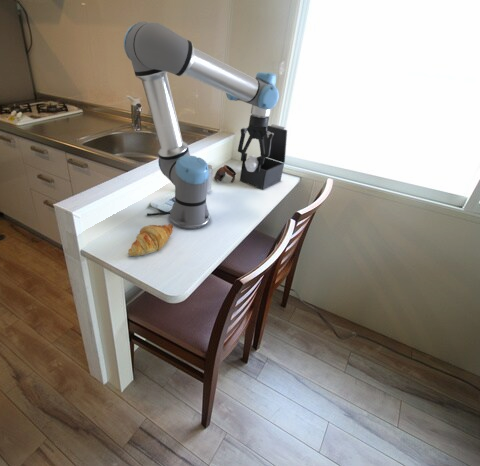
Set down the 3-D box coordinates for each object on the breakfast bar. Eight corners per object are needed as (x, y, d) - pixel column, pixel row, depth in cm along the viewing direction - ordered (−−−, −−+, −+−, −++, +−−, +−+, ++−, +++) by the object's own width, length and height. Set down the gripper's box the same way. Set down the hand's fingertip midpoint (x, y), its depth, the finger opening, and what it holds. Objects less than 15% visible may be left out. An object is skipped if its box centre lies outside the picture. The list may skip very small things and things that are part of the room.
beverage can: (197, 187, 149) (199, 163, 142) (211, 189, 148) (213, 164, 142) (195, 193, 144) (197, 168, 137) (210, 195, 143) (212, 169, 136)
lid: (286, 130, 143) (292, 126, 146) (260, 124, 151) (267, 120, 154) (284, 163, 155) (289, 158, 157) (260, 155, 162) (266, 150, 165)
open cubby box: (262, 189, 150) (266, 171, 145) (239, 180, 158) (242, 162, 153) (280, 181, 160) (284, 163, 155) (257, 173, 168) (260, 155, 163)
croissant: (136, 270, 102) (144, 257, 96) (115, 248, 103) (121, 234, 98) (177, 240, 116) (185, 227, 111) (157, 221, 118) (165, 207, 112)
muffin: (260, 172, 139) (262, 157, 136) (247, 173, 138) (249, 157, 134) (253, 167, 144) (256, 152, 141) (241, 168, 143) (243, 153, 139)
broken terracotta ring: (216, 175, 164) (226, 162, 160) (230, 187, 162) (240, 175, 158) (207, 177, 153) (217, 163, 149) (221, 190, 151) (232, 176, 148)
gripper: (285, 117, 128) (274, 171, 141) (239, 110, 135) (232, 163, 147) (281, 120, 123) (270, 177, 135) (234, 113, 129) (227, 168, 141)
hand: (250, 169), depth 141 cm, fingers closed on muffin, 6 cm apart
